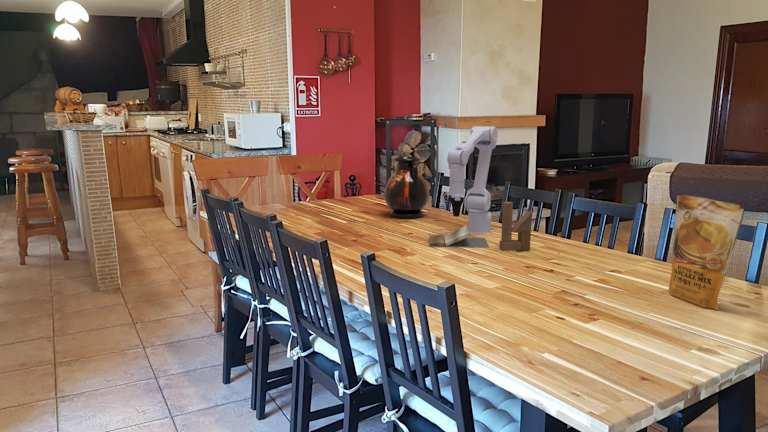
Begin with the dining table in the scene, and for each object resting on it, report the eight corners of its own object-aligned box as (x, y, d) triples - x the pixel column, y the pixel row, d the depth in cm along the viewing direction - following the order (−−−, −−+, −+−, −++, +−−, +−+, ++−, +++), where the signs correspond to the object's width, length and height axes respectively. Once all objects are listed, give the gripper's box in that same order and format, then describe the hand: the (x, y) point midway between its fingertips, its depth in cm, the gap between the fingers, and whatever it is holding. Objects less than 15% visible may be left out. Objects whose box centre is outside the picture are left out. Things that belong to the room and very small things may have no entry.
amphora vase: (377, 213, 283) (376, 156, 277) (415, 210, 292) (416, 155, 286) (396, 221, 263) (396, 160, 258) (437, 217, 272) (438, 158, 267)
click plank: (467, 227, 227) (466, 224, 227) (470, 235, 213) (469, 232, 213) (445, 237, 228) (443, 234, 228) (446, 246, 215) (445, 243, 214)
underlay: (484, 239, 229) (484, 237, 228) (489, 249, 213) (489, 247, 213) (429, 238, 230) (429, 237, 230) (429, 248, 214) (429, 246, 214)
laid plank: (444, 237, 228) (444, 235, 228) (446, 246, 215) (446, 243, 214) (429, 237, 229) (429, 234, 229) (429, 246, 215) (429, 243, 215)
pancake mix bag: (676, 288, 167) (685, 193, 162) (734, 310, 149) (747, 203, 144) (657, 291, 165) (666, 194, 159) (715, 313, 147) (727, 205, 142)
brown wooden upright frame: (530, 250, 211) (532, 202, 207) (503, 252, 208) (505, 203, 205) (525, 248, 214) (527, 200, 211) (498, 250, 212) (500, 201, 208)
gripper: (446, 178, 228) (445, 212, 231) (447, 183, 214) (446, 219, 217) (463, 179, 228) (463, 212, 230) (466, 183, 214) (465, 219, 216)
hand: (456, 216), depth 223 cm, fingers closed
